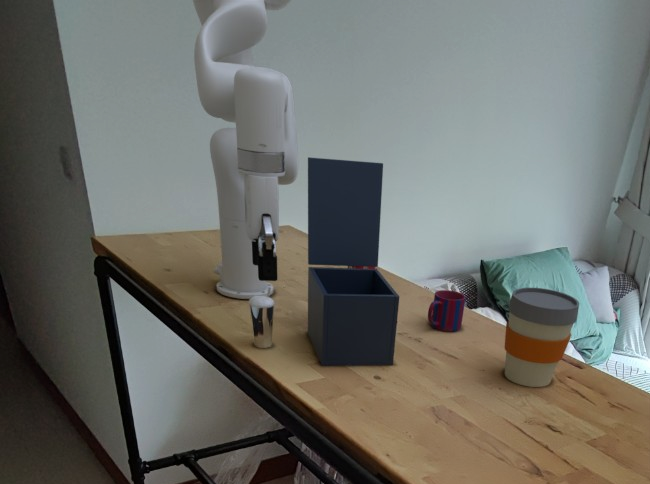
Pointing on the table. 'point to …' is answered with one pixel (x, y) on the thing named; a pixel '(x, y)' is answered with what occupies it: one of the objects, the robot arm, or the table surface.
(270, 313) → the milkshake
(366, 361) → the chest
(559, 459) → the table surface
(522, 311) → the reusable coffee cup
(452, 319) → the cup
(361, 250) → the chest lid
